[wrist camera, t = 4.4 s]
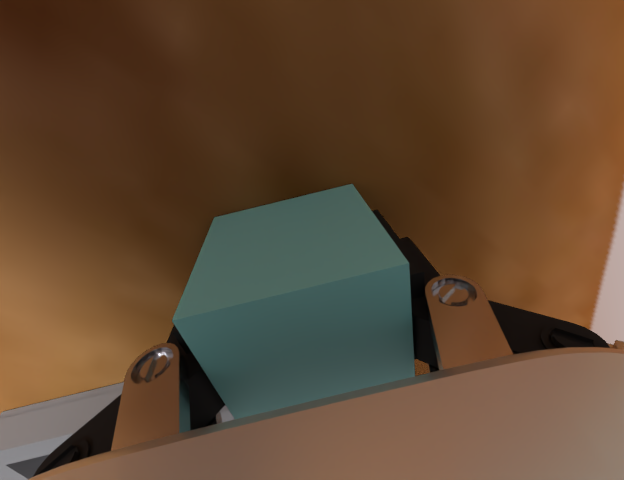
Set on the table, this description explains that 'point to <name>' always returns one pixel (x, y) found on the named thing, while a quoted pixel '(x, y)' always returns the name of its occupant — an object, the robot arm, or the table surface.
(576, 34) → the table surface
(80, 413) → the tray
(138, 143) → the table surface
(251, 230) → the cube
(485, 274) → the table surface
